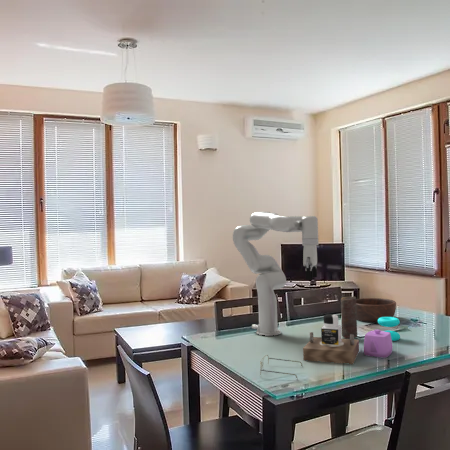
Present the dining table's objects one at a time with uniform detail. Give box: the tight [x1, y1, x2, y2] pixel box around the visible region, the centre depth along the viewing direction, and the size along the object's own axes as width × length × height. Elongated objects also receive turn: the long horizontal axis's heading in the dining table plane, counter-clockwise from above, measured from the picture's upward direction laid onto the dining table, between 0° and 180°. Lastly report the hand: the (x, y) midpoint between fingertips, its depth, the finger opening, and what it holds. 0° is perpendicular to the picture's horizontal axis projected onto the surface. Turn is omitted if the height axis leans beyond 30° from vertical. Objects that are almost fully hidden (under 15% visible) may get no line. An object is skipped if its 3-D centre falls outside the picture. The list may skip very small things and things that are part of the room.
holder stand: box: [302, 331, 360, 365], centre depth 199 cm, size 20×20×9 cm
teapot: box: [363, 328, 393, 359], centre depth 199 cm, size 18×10×10 cm, turn 146°
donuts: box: [377, 316, 401, 342], centre depth 223 cm, size 10×10×10 cm
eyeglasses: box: [259, 354, 303, 379], centre depth 180 cm, size 16×15×5 cm
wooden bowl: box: [356, 297, 397, 323], centre depth 270 cm, size 25×25×10 cm
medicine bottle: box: [320, 313, 342, 346], centre depth 199 cm, size 7×7×12 cm
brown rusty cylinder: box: [340, 296, 358, 339], centre depth 227 cm, size 8×7×20 cm
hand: (311, 278), depth 222 cm, fingers open, 9 cm apart
